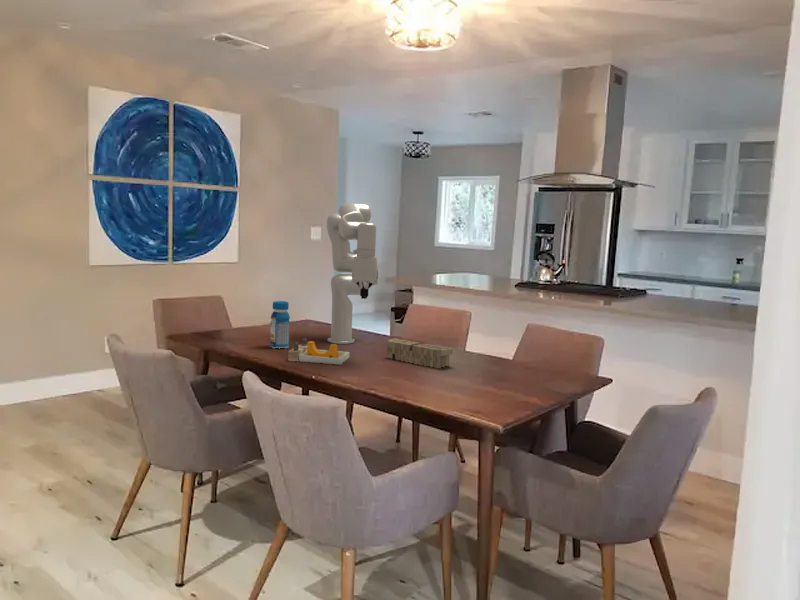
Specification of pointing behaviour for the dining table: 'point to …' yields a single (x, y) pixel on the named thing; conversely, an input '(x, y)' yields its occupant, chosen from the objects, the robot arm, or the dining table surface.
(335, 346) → the pipe clamp
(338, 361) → the tray
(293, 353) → the block
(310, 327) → the dining table surface
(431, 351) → the block tower
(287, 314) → the beverage bottle
